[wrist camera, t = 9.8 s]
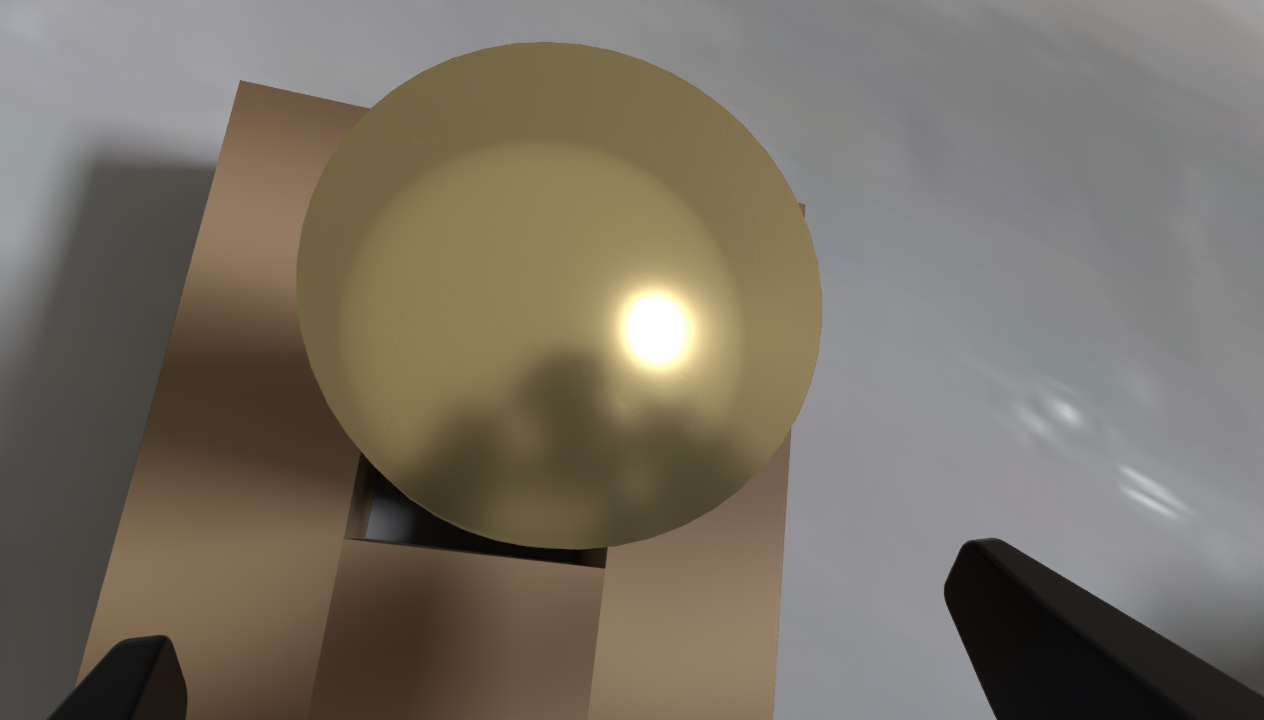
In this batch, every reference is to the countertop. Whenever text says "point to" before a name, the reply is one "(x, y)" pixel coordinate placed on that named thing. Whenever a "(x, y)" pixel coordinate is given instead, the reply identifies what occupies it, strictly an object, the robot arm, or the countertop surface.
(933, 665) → the countertop surface
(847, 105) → the countertop surface
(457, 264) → the steel pin
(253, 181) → the socket block
